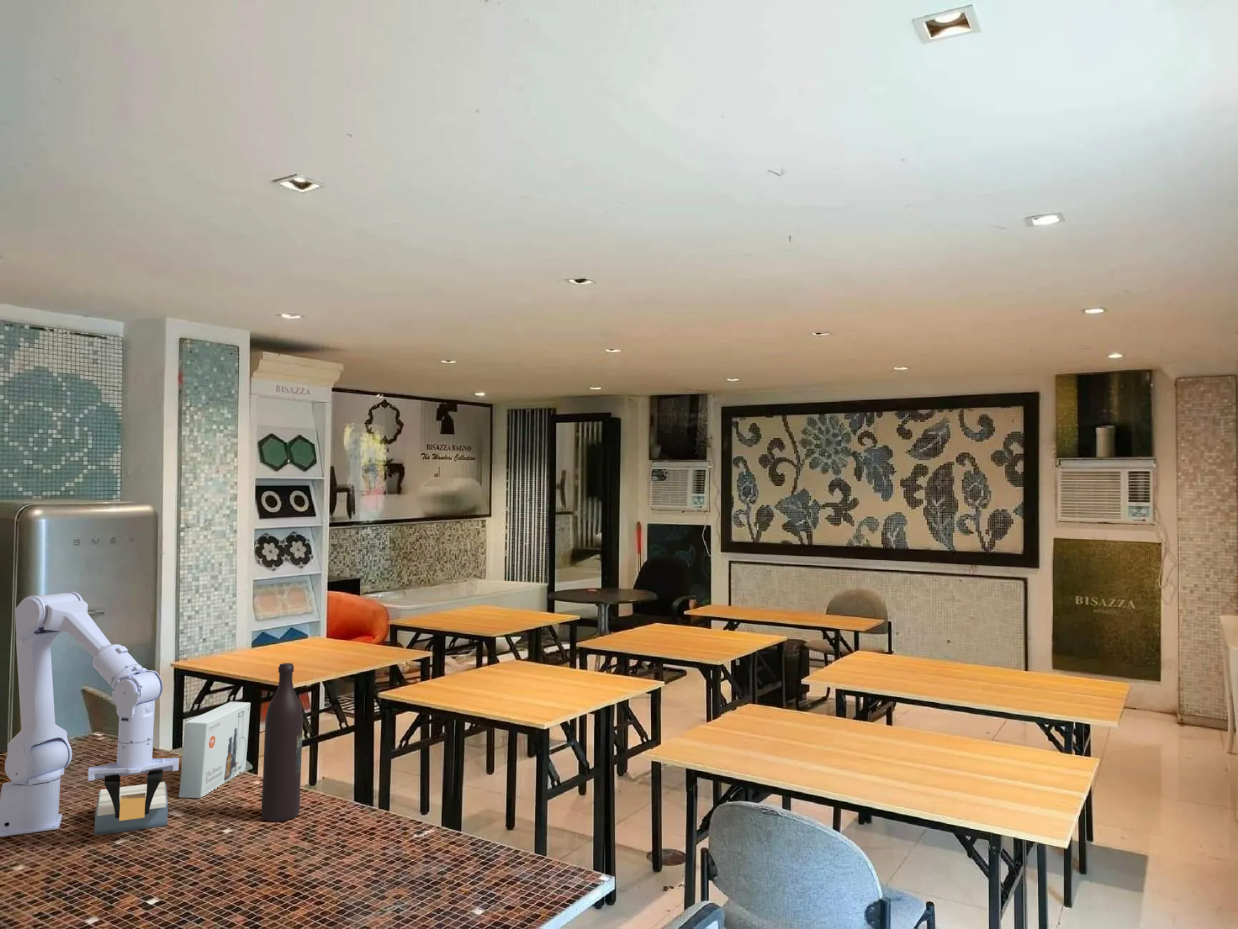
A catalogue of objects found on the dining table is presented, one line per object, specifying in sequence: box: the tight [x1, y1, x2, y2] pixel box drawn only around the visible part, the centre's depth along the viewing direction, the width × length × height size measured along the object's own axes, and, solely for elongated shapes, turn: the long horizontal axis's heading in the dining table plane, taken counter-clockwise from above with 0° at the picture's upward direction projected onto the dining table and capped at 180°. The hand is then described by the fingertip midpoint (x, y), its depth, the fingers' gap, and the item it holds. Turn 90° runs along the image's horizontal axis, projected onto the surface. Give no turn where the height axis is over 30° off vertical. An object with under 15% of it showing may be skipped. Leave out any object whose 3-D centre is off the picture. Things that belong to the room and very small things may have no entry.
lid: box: [97, 781, 166, 821], centre depth 166 cm, size 11×18×4 cm, turn 29°
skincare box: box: [178, 701, 251, 799], centre depth 192 cm, size 21×6×16 cm, turn 179°
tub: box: [93, 783, 169, 837], centre depth 170 cm, size 12×14×4 cm
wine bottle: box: [261, 662, 304, 823], centre depth 173 cm, size 7×7×30 cm
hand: (132, 814), depth 159 cm, fingers closed on lid, 4 cm apart
